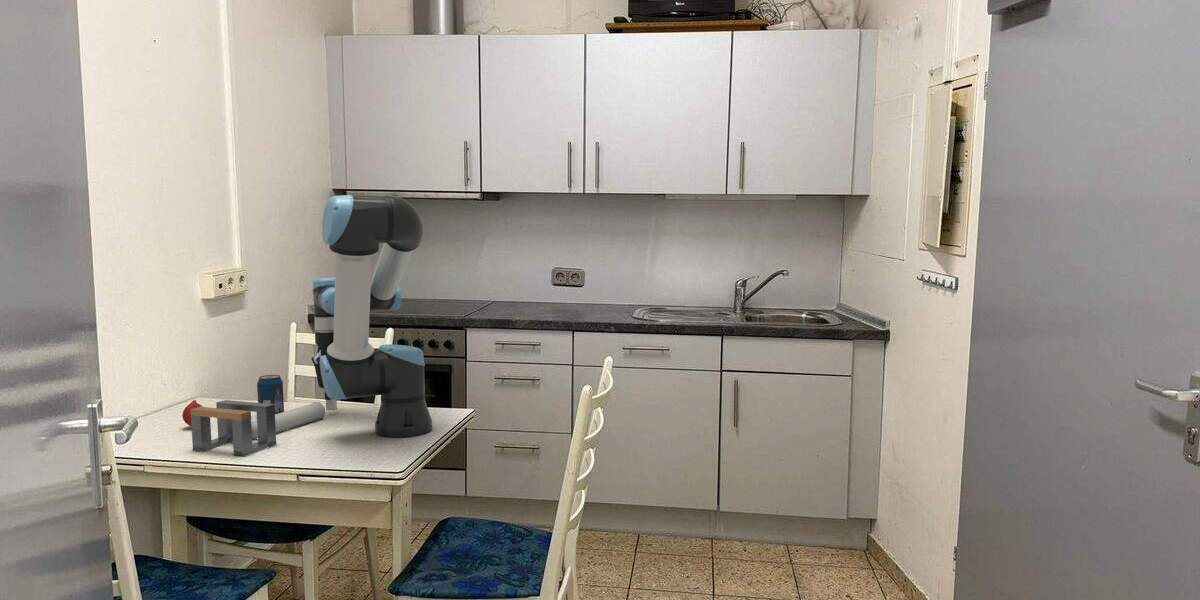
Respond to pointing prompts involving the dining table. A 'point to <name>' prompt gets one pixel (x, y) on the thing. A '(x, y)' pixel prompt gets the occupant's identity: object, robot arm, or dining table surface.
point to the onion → (189, 412)
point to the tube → (294, 417)
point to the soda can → (271, 391)
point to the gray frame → (234, 426)
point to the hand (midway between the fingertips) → (331, 409)
